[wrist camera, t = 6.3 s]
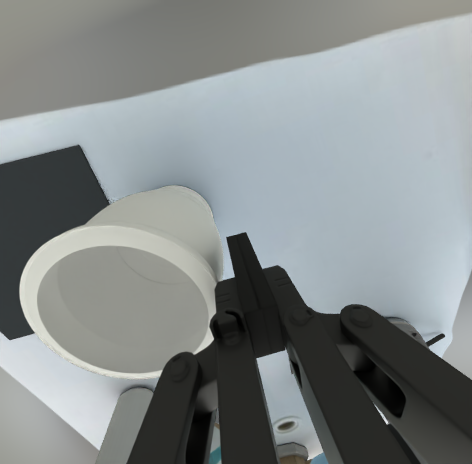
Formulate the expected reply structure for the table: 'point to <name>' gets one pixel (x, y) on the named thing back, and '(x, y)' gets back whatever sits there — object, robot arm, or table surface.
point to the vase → (215, 446)
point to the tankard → (293, 454)
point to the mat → (39, 218)
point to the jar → (128, 284)
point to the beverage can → (124, 426)
